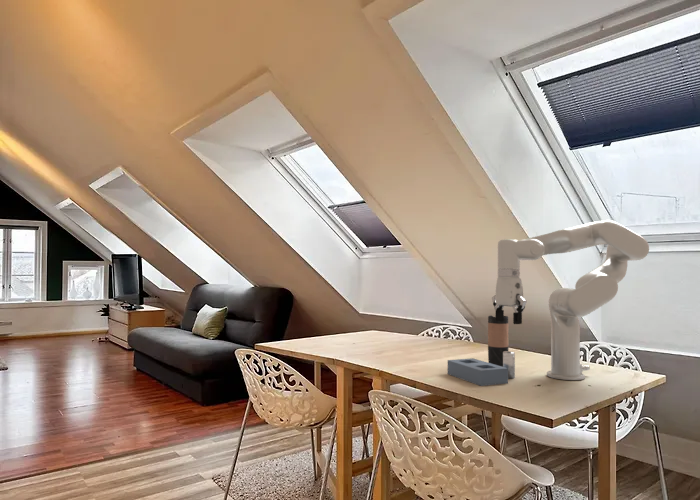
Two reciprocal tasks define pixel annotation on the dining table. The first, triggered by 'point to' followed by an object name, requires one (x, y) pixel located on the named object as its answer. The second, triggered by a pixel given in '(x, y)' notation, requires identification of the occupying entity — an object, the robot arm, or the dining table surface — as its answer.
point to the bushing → (509, 363)
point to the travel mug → (497, 340)
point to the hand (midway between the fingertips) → (508, 322)
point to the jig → (478, 371)
